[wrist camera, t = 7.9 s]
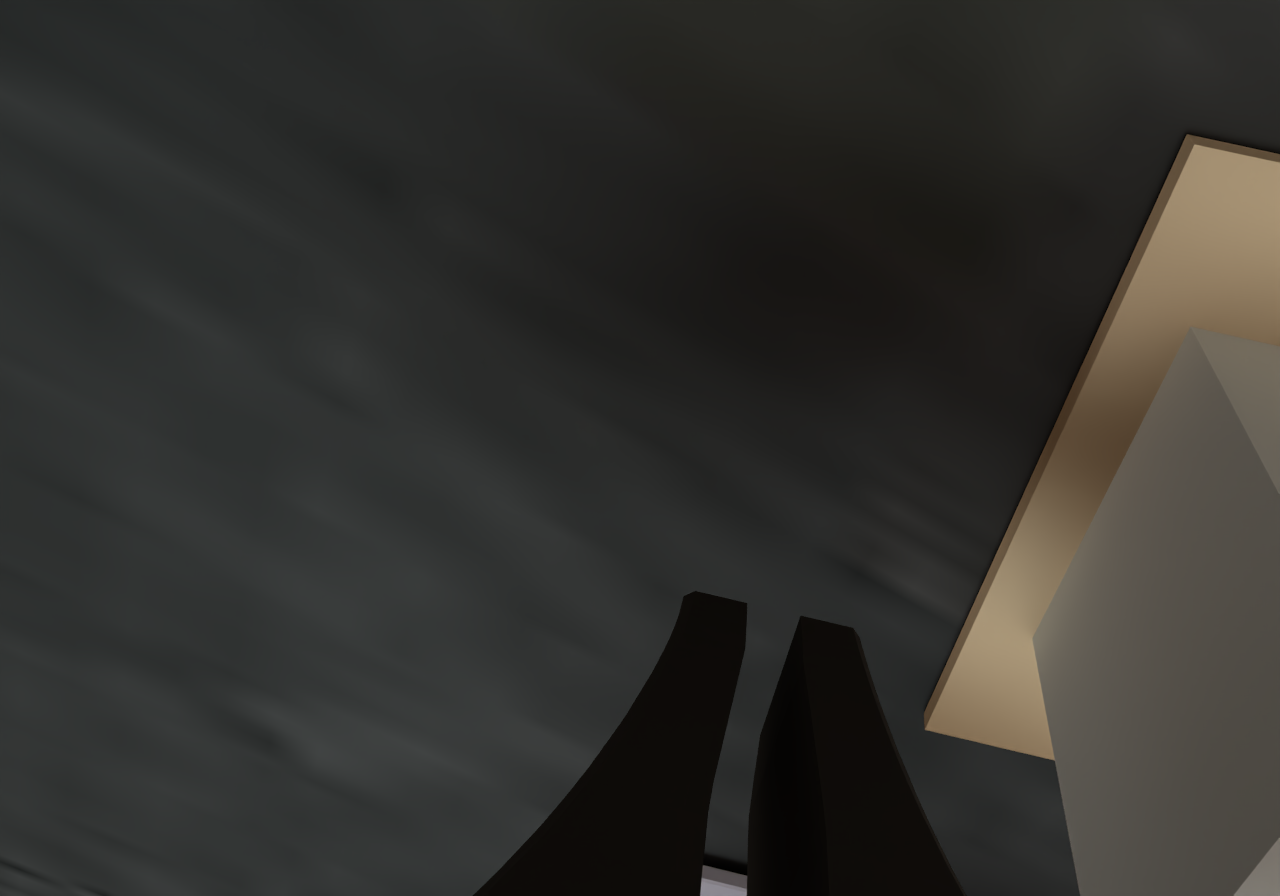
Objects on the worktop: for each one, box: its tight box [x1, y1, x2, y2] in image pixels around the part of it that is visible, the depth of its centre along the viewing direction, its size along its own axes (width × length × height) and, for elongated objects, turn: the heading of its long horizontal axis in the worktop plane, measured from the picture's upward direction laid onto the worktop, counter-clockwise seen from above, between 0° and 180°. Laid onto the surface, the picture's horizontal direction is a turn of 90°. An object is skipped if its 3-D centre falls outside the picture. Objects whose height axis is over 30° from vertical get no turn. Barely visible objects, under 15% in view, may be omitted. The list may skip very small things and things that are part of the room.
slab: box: [1032, 327, 1280, 896], centre depth 14 cm, size 6×3×7 cm, turn 170°
